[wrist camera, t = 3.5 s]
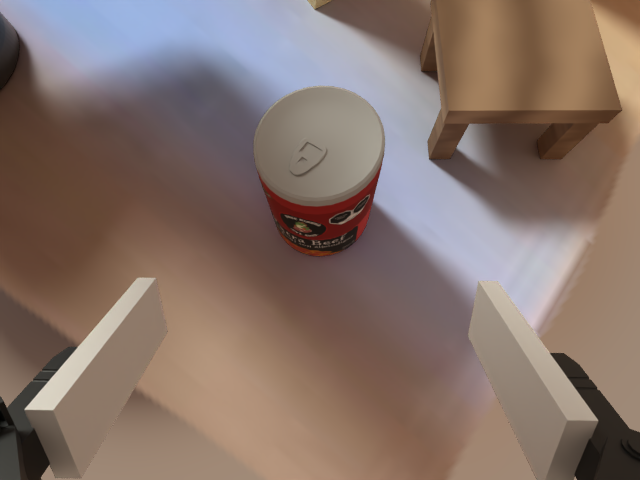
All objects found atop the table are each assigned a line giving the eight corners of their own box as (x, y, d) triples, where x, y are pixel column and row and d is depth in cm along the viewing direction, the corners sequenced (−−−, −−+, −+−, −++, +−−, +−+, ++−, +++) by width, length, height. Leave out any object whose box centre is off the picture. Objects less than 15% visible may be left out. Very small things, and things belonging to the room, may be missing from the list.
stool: (425, 162, 34) (448, 110, 28) (416, 54, 38) (434, -14, 32) (565, 162, 34) (622, 110, 28) (541, 53, 38) (586, -16, 31)
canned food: (262, 244, 32) (230, 180, 22) (295, 162, 35) (280, 70, 24) (352, 272, 31) (363, 219, 21) (379, 186, 34) (401, 100, 23)
